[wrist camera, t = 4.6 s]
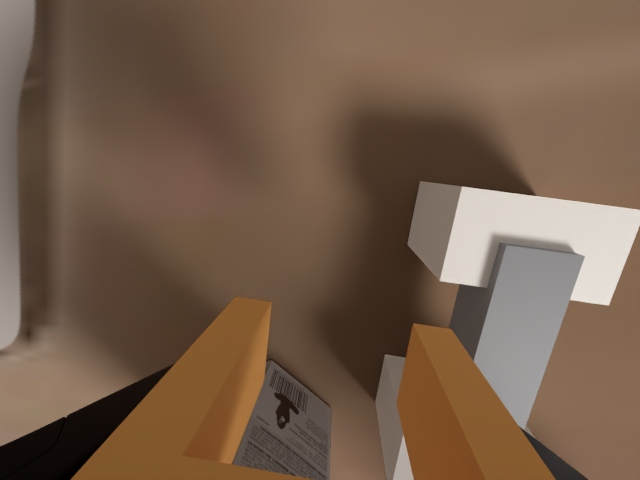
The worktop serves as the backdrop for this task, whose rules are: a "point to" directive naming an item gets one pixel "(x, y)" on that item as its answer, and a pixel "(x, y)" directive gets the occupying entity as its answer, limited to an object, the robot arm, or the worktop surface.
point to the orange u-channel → (244, 387)
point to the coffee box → (287, 429)
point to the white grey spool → (507, 286)
